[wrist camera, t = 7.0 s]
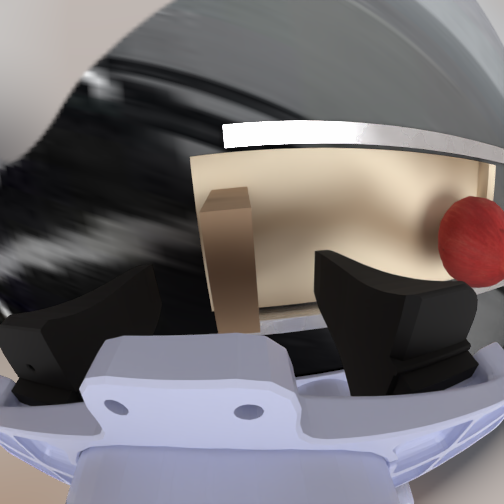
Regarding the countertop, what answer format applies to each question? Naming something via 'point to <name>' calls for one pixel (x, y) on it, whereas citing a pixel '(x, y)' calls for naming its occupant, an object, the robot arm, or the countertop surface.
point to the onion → (473, 242)
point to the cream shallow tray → (320, 219)
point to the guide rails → (349, 133)
